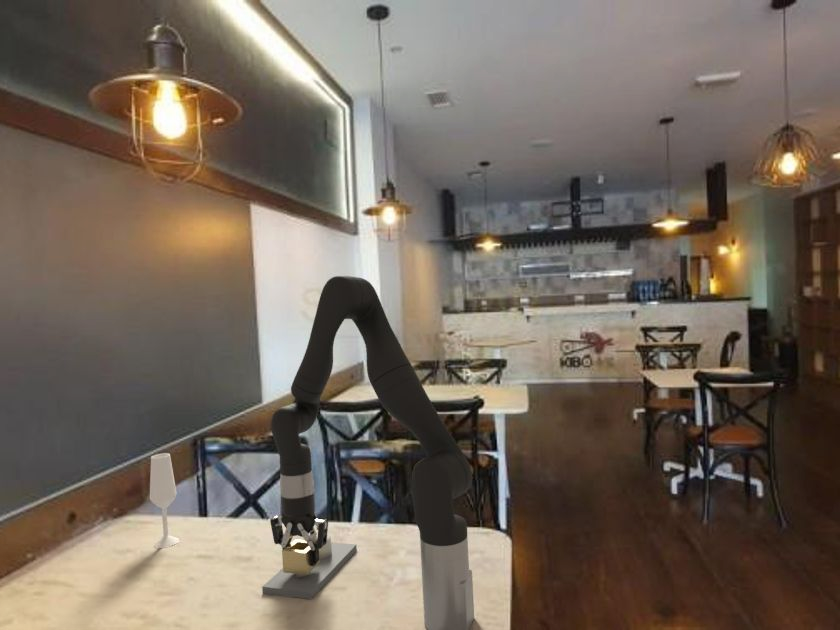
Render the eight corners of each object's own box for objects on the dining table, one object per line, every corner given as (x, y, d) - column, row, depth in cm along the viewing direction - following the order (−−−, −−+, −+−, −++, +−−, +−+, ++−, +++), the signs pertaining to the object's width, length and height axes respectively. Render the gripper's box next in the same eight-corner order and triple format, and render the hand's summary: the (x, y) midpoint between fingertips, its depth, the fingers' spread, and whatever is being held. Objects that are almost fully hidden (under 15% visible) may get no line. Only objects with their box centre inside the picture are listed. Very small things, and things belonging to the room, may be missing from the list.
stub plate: (356, 550, 146) (355, 528, 146) (311, 599, 123) (309, 574, 123) (314, 546, 150) (313, 525, 150) (262, 593, 127) (261, 568, 127)
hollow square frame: (319, 562, 134) (318, 541, 134) (306, 575, 128) (305, 553, 128) (296, 560, 136) (295, 539, 135) (283, 572, 130) (282, 550, 130)
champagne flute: (184, 537, 160) (178, 452, 159) (170, 548, 153) (164, 459, 152) (162, 537, 161) (156, 452, 160) (147, 547, 154) (141, 459, 153)
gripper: (260, 494, 130) (265, 567, 130) (317, 498, 125) (321, 574, 126) (278, 483, 137) (282, 553, 138) (333, 487, 132) (337, 558, 133)
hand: (301, 562), depth 132 cm, fingers closed on hollow square frame, 6 cm apart
